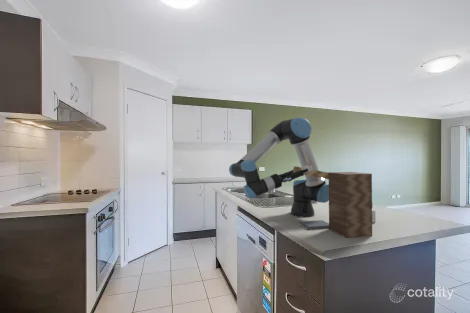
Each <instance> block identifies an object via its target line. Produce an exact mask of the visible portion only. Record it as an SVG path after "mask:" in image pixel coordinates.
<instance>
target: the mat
mask: <svg viewBox="0 0 470 313" xmlns="http://www.w3.org/2000/svg"><path fill="white" fill-rule="evenodd" d="M300 224H301V226H302V225H303V226H304V228H305V227H306V228H305V229H306V230H308V229H312V230H323V229H329V222H327V221H325V220H307V221H306V220H304V221H299V225H300ZM303 226H302V227H303Z"/></svg>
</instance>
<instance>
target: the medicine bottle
mask: <svg viewBox="0 0 470 313" xmlns="http://www.w3.org/2000/svg"><path fill="white" fill-rule="evenodd" d="M372 224H376V209H373V208H372Z"/></svg>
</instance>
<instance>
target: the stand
mask: <svg viewBox="0 0 470 313" xmlns="http://www.w3.org/2000/svg"><path fill="white" fill-rule="evenodd" d="M328 173H329V179H328V184H329V201H328V223H329V228H328V230H330V231H331V232H332V231H333V232H334V233H336V234H337V235H340V236H342V237H343V238H346V239H349V238H350V239H351V238H361V237H372V236H373V223H372V209H373V182H372V181H373V178H372V177H373V175H372V174H373V173H369V172H368V173H367V172H357V171H338V172H337V171H336V172H335V171H334V172H330V171H329V172H328Z"/></svg>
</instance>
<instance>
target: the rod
mask: <svg viewBox="0 0 470 313" xmlns="http://www.w3.org/2000/svg"><path fill="white" fill-rule="evenodd" d="M301 167H302V166H293V169H292V170H293V173H294V172H297V171H300V170H301V169H303V168H301ZM305 175H308V176H314V177H319V178H324V179H325V180H329V172H327V171H321V170H319V171H317V170H312V171H310V172H307V173H305V174H304V176H305Z"/></svg>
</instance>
